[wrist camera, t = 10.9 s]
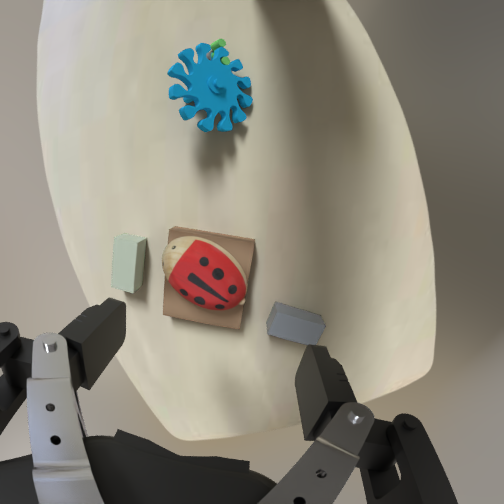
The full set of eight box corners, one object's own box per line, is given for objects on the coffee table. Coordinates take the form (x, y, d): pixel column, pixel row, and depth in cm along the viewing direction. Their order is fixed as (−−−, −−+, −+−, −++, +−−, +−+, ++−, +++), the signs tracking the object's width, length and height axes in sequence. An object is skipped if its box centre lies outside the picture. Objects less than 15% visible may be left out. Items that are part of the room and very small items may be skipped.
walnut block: (177, 225, 30) (169, 229, 27) (254, 238, 31) (254, 243, 28) (170, 304, 33) (162, 314, 30) (240, 317, 33) (239, 329, 30)
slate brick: (266, 321, 32) (267, 334, 30) (275, 300, 32) (277, 311, 29) (310, 334, 33) (314, 347, 30) (320, 314, 32) (325, 326, 29)
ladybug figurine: (182, 220, 27) (172, 224, 24) (263, 270, 28) (264, 281, 25) (154, 272, 29) (142, 283, 25) (230, 318, 30) (227, 334, 26)
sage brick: (125, 232, 30) (114, 237, 27) (147, 237, 30) (137, 242, 27) (121, 278, 31) (111, 287, 28) (142, 284, 31) (133, 293, 29)
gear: (250, 143, 26) (162, 112, 19) (214, 150, 30) (136, 128, 23) (262, 59, 25) (192, 19, 18) (228, 73, 29) (162, 43, 22)
